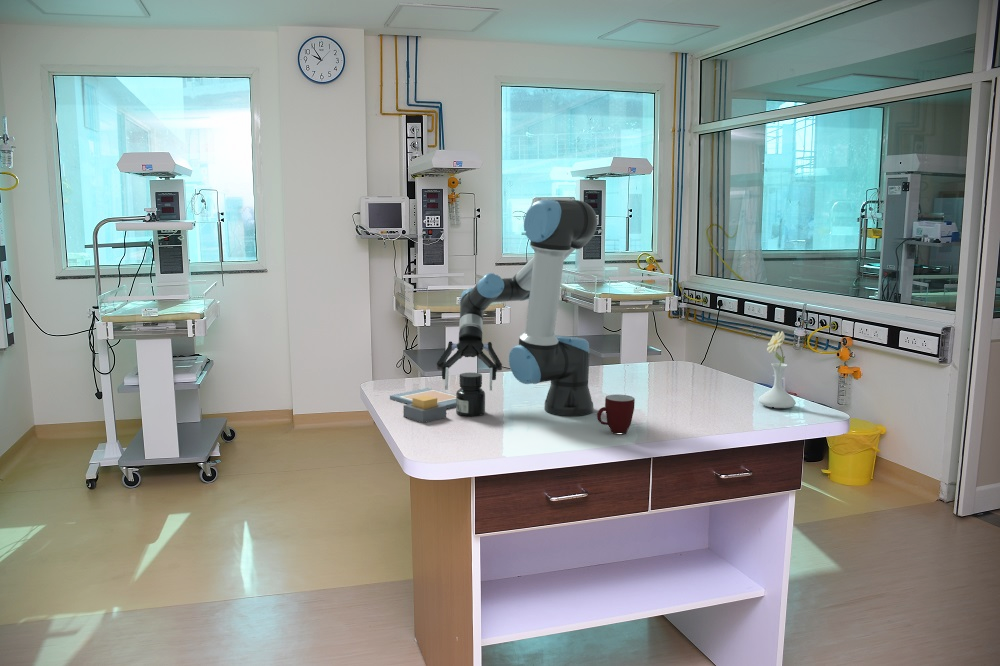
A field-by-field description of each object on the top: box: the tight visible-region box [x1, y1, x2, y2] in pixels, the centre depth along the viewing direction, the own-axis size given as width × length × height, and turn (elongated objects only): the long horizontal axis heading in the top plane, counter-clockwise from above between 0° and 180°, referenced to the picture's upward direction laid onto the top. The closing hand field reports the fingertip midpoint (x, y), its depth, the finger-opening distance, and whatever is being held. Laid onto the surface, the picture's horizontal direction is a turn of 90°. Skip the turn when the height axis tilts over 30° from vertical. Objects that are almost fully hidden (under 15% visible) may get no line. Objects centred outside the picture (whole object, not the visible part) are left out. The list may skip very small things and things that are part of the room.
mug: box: [596, 394, 636, 434], centre depth 214 cm, size 10×8×10 cm
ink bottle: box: [455, 372, 486, 417], centre depth 233 cm, size 10×9×12 cm
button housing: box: [403, 403, 447, 423], centre depth 228 cm, size 9×9×4 cm
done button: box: [412, 395, 437, 409], centre depth 228 cm, size 5×5×4 cm
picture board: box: [389, 387, 456, 409], centre depth 248 cm, size 22×16×1 cm
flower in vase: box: [757, 330, 796, 409], centre depth 244 cm, size 13×11×25 cm
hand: (468, 388), depth 234 cm, fingers open, 13 cm apart
